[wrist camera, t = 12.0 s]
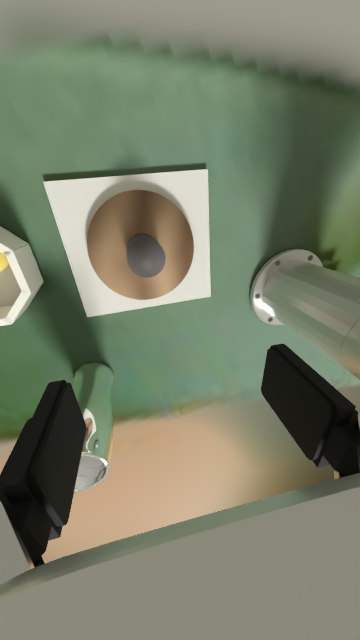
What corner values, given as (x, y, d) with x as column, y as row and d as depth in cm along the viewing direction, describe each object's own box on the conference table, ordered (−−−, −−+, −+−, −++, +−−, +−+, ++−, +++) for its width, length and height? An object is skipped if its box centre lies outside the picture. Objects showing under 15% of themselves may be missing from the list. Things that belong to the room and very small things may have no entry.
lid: (189, 186, 26) (204, 180, 21) (194, 289, 32) (207, 305, 27) (73, 194, 24) (59, 191, 19) (102, 303, 30) (98, 324, 25)
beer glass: (83, 398, 37) (59, 501, 24) (63, 368, 34) (23, 469, 21) (122, 384, 38) (121, 478, 25) (106, 354, 34) (95, 443, 21)
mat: (206, 169, 26) (207, 169, 25) (209, 295, 33) (210, 296, 33) (44, 182, 23) (43, 181, 23) (87, 315, 31) (87, 317, 30)
